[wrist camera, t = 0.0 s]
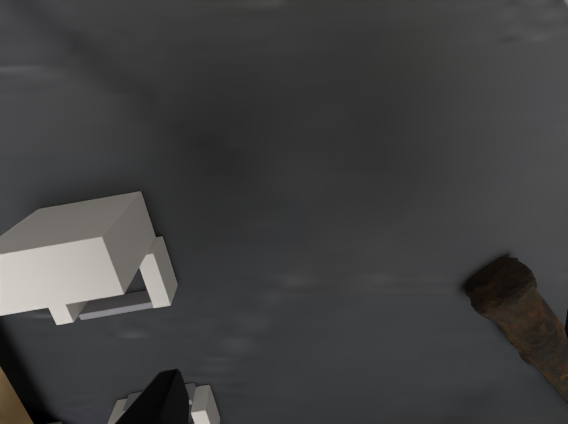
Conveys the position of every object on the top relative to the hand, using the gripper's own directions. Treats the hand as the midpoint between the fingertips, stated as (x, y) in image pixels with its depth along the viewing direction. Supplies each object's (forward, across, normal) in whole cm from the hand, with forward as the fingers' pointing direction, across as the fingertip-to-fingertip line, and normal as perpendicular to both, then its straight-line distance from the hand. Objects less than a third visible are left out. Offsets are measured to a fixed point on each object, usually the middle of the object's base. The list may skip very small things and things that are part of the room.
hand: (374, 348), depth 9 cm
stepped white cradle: (+15, +12, +10) cm, 22 cm away
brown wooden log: (+15, -16, +16) cm, 27 cm away
